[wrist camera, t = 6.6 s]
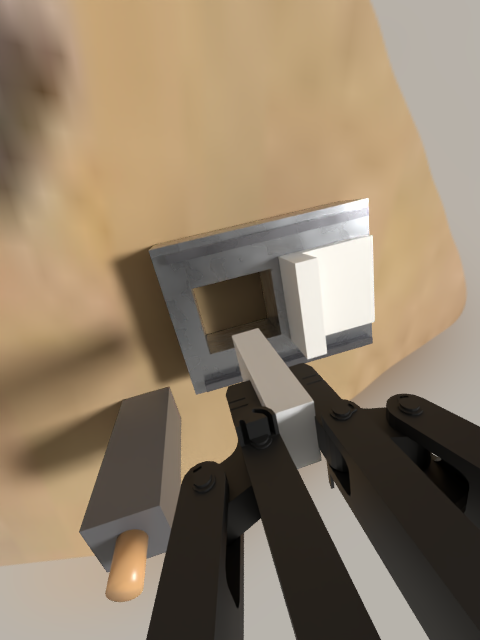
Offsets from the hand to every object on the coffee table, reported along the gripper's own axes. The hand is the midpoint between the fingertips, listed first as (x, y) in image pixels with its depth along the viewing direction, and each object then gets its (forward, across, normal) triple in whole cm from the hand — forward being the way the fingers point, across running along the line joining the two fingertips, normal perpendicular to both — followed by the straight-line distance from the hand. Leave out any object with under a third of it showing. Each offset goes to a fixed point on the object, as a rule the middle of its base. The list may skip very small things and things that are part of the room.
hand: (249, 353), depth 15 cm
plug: (+11, -9, -9) cm, 17 cm away
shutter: (+6, +8, 0) cm, 10 cm away
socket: (+10, +3, 0) cm, 11 cm away
